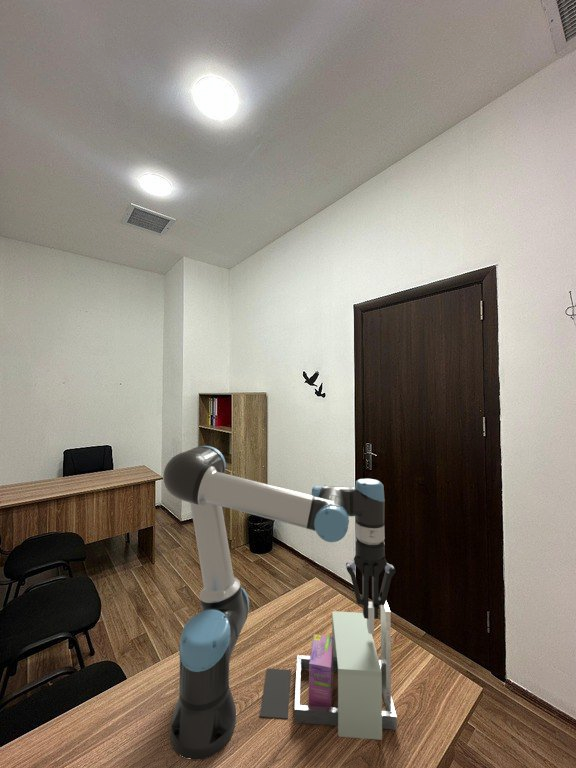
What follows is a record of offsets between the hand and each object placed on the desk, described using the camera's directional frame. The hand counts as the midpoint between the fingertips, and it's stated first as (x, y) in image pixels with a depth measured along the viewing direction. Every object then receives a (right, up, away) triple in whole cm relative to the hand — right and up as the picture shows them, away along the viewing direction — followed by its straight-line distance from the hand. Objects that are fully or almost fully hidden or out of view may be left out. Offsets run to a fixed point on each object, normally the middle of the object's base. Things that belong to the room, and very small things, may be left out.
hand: (370, 629), depth 85 cm
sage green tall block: (-4, -17, 0) cm, 18 cm away
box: (-13, -18, 0) cm, 22 cm away
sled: (-8, -17, 0) cm, 19 cm away
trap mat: (-25, -17, +1) cm, 30 cm away
